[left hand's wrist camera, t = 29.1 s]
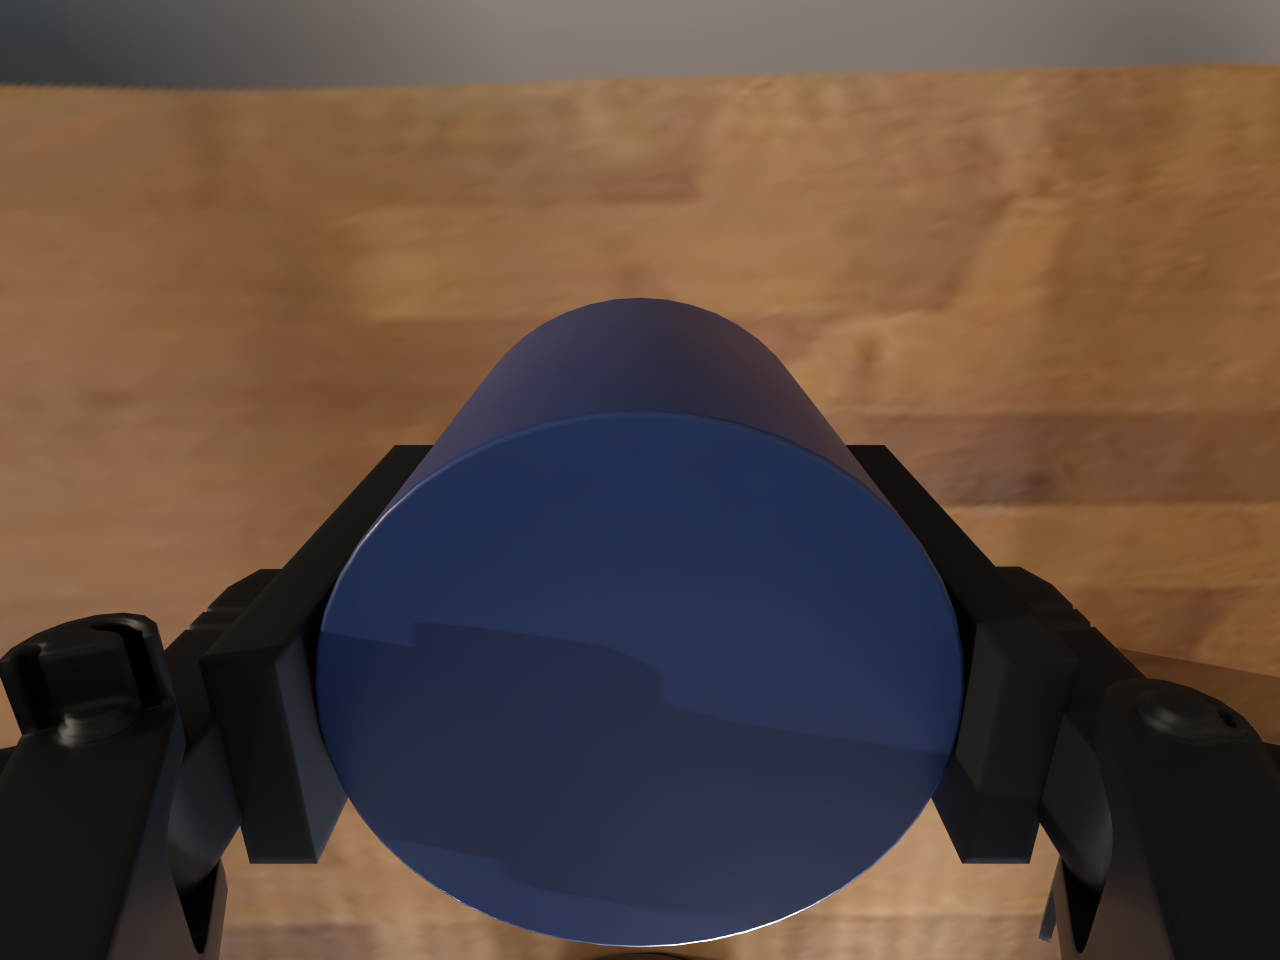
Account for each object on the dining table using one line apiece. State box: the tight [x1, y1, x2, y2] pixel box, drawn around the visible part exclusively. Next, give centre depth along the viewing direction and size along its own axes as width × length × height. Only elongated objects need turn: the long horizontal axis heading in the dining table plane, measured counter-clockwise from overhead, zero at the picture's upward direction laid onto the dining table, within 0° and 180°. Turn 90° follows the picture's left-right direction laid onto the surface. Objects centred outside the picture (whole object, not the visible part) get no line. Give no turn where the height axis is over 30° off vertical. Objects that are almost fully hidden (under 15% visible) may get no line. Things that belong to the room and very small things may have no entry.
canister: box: [315, 298, 965, 947], centre depth 12 cm, size 7×7×7 cm
